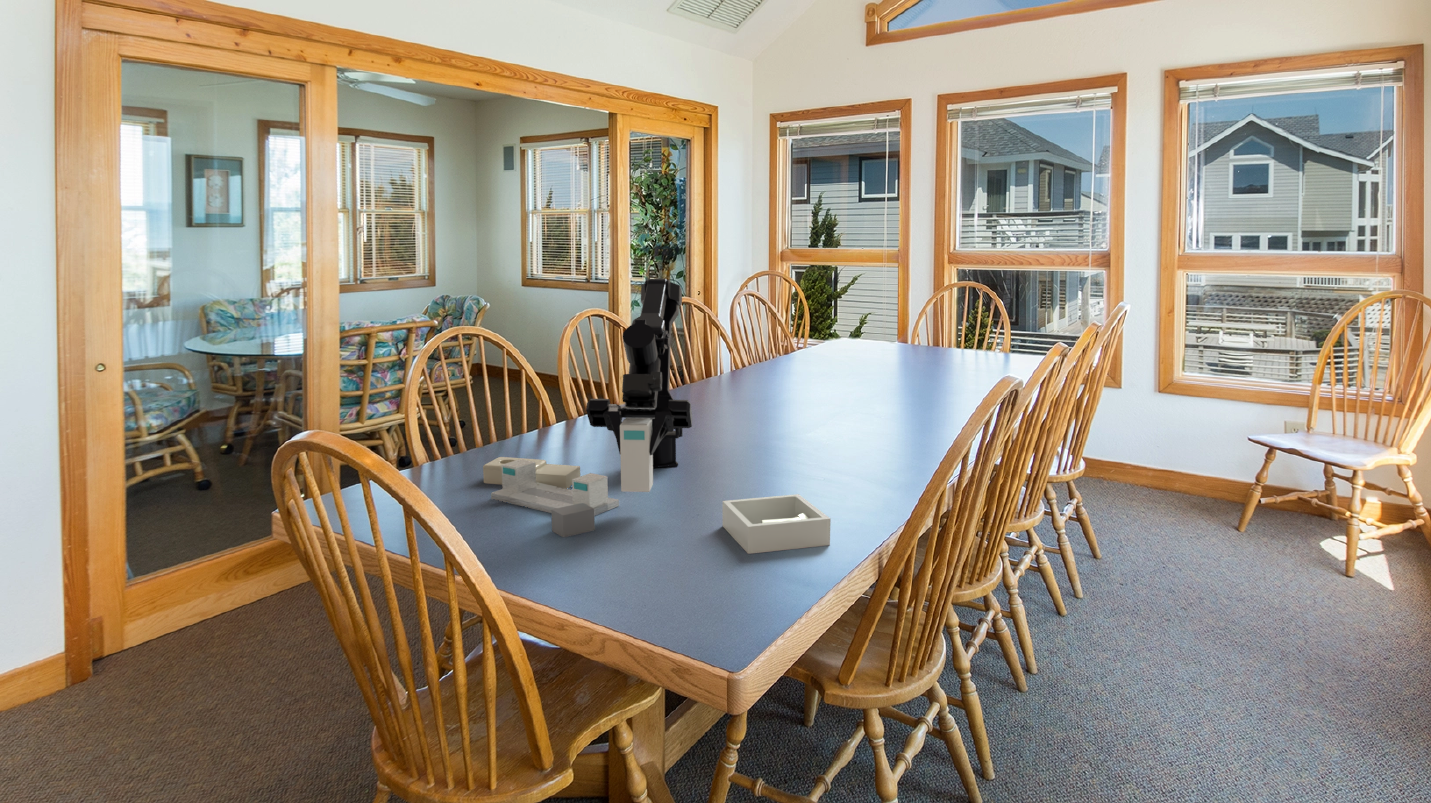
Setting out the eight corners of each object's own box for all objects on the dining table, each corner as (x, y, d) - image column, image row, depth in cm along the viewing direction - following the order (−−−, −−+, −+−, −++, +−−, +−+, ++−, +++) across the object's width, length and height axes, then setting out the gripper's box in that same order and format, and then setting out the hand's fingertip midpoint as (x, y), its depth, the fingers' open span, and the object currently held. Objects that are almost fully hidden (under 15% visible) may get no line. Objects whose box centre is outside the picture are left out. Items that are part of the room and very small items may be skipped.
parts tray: (798, 518, 162) (798, 494, 161) (829, 545, 148) (830, 518, 148) (722, 525, 158) (722, 500, 157) (748, 553, 145) (748, 526, 144)
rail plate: (529, 486, 181) (527, 456, 180) (619, 505, 169) (618, 473, 168) (491, 498, 173) (489, 467, 172) (582, 520, 161) (581, 486, 159)
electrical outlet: (565, 471, 179) (482, 464, 183) (566, 491, 179) (483, 484, 184) (579, 461, 185) (499, 456, 190) (580, 481, 186) (500, 474, 191)
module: (625, 483, 166) (624, 417, 164) (653, 483, 166) (652, 418, 163) (621, 491, 161) (619, 424, 159) (649, 492, 161) (648, 424, 158)
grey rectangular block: (583, 524, 159) (582, 502, 158) (594, 530, 156) (594, 508, 155) (552, 531, 155) (551, 509, 154) (563, 538, 152) (562, 515, 151)
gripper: (586, 354, 163) (575, 429, 155) (690, 355, 162) (685, 430, 154) (596, 389, 173) (586, 461, 164) (694, 390, 171) (689, 463, 163)
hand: (635, 453), depth 161 cm, fingers closed on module, 5 cm apart
